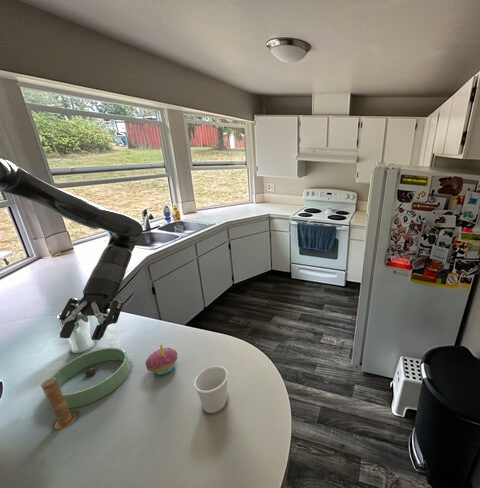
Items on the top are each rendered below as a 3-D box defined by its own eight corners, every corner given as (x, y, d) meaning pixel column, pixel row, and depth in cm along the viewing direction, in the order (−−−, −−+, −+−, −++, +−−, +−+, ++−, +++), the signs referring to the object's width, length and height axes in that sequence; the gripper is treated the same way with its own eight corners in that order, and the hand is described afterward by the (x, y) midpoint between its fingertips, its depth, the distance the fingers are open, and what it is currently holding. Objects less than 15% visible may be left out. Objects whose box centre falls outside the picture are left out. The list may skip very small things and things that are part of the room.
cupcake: (185, 367, 82) (179, 337, 78) (157, 386, 75) (149, 354, 71) (170, 356, 86) (163, 327, 82) (143, 373, 79) (134, 343, 75)
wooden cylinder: (52, 434, 61) (32, 392, 57) (59, 419, 65) (40, 379, 60) (74, 426, 63) (56, 385, 58) (79, 413, 66) (63, 372, 62)
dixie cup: (207, 426, 64) (202, 398, 61) (193, 406, 69) (188, 378, 66) (237, 404, 70) (234, 377, 67) (222, 386, 75) (218, 360, 72)
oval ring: (42, 421, 64) (34, 406, 62) (66, 372, 78) (61, 358, 76) (125, 394, 72) (121, 379, 70) (134, 353, 86) (130, 341, 84)
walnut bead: (85, 379, 75) (83, 373, 74) (87, 373, 77) (85, 367, 76) (95, 376, 76) (93, 370, 76) (97, 370, 78) (95, 364, 78)
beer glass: (92, 339, 92) (80, 304, 87) (100, 346, 89) (88, 311, 83) (66, 351, 86) (52, 314, 81) (74, 359, 83) (60, 322, 78)
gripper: (70, 275, 70) (39, 336, 63) (120, 277, 70) (94, 339, 63) (93, 282, 77) (67, 338, 70) (138, 285, 76) (116, 341, 69)
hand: (79, 339), depth 66 cm, fingers open, 8 cm apart
